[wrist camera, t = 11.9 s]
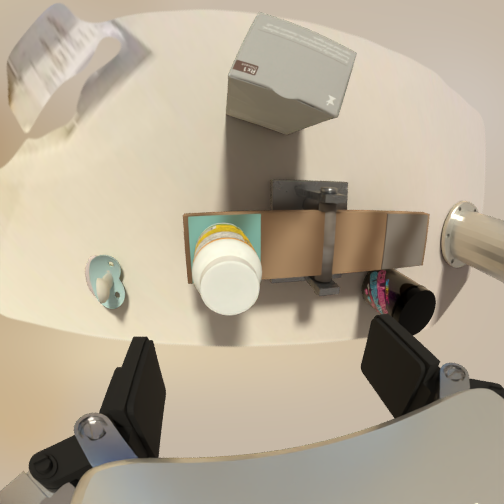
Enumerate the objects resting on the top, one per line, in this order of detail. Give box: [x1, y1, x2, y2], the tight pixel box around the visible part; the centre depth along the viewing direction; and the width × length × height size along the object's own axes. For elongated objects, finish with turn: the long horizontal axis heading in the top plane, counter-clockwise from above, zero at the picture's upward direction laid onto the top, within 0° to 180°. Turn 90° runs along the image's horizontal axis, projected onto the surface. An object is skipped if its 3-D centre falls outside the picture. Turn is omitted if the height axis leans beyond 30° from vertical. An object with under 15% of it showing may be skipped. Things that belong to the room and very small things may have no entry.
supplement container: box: [362, 268, 436, 335], centre depth 35 cm, size 7×7×10 cm
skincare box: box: [226, 12, 357, 135], centre depth 22 cm, size 8×7×16 cm
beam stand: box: [270, 180, 348, 296], centre depth 31 cm, size 10×13×8 cm
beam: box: [183, 202, 430, 284], centre depth 30 cm, size 30×9×2 cm, turn 91°
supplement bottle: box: [192, 223, 262, 315], centre depth 22 cm, size 5×5×10 cm
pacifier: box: [85, 255, 125, 309], centre depth 30 cm, size 7×6×6 cm
